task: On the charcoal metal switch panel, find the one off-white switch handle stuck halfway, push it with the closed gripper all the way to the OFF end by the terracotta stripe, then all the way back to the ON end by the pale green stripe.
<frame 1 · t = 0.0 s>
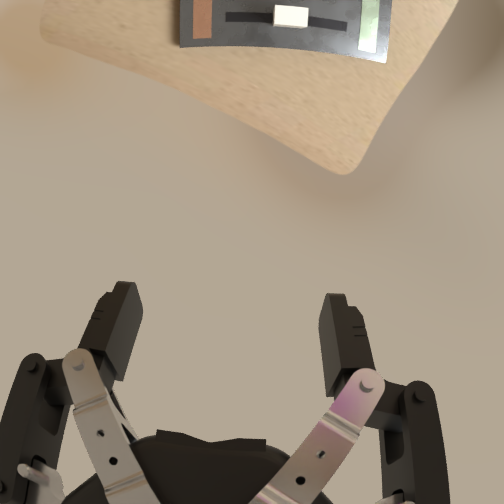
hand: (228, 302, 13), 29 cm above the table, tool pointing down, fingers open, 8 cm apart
switch 1: (289, 17, 24), point 5 cm above the table, slide at 0.0 cm
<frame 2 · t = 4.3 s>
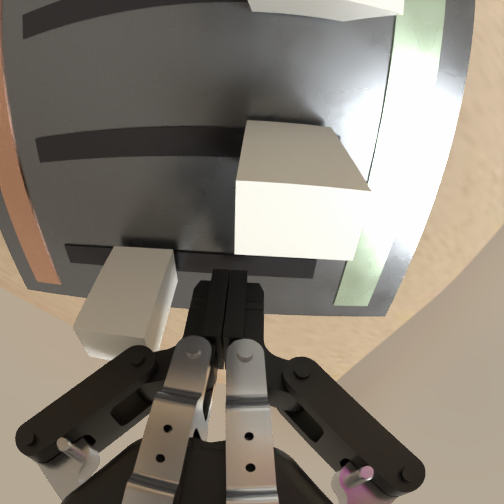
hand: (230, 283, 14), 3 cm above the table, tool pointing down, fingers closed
switch panel: (180, 126, 13), on the table
switch 1: (130, 301, 13), point 5 cm above the table, slide at -1.7 cm, touching gripper
switch middle: (292, 177, 9), point 5 cm above the table, slide at 4.5 cm
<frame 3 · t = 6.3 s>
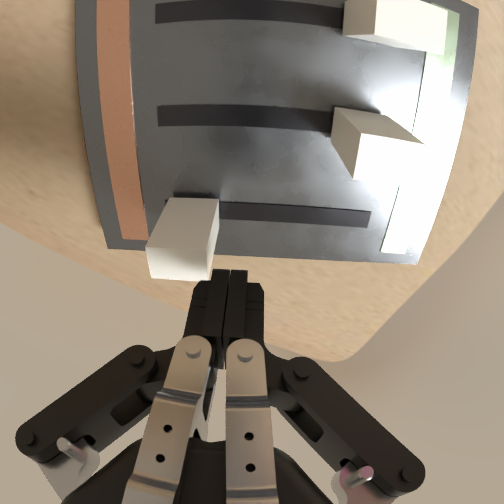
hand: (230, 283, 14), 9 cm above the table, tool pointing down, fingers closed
switch panel: (275, 109, 18), on the table
switch 1: (186, 235, 17), point 5 cm above the table, slide at -4.6 cm
switch middle: (372, 142, 14), point 5 cm above the table, slide at 4.5 cm
switch 2: (389, 22, 10), point 5 cm above the table, slide at 4.5 cm
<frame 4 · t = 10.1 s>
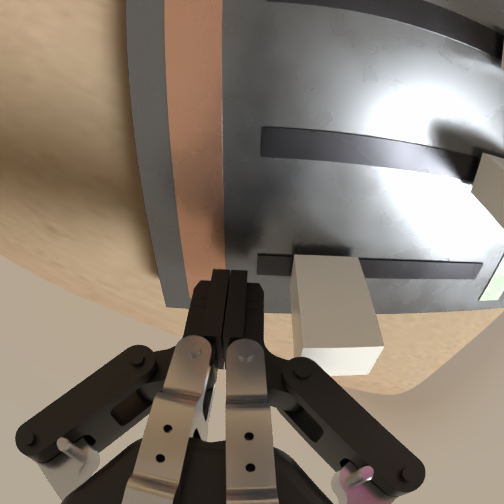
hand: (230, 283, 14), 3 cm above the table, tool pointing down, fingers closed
switch panel: (402, 141, 13), on the table
switch 1: (330, 312, 13), point 5 cm above the table, slide at -3.4 cm, touching gripper
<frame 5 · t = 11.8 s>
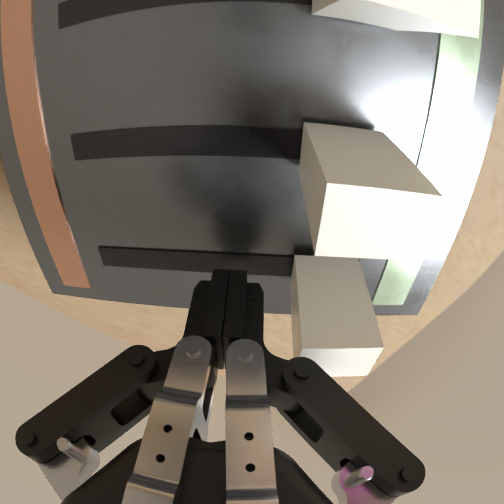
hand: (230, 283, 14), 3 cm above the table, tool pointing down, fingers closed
switch panel: (226, 126, 13), on the table
switch 1: (330, 313, 13), point 5 cm above the table, slide at 4.7 cm, touching gripper
switch middle: (357, 180, 9), point 5 cm above the table, slide at 4.5 cm
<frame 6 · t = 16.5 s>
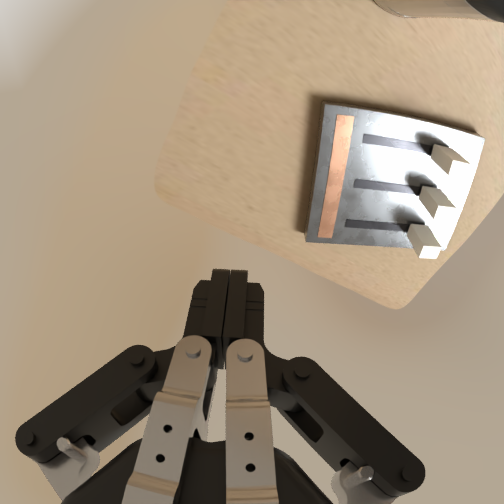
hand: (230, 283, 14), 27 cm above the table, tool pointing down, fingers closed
switch panel: (395, 181, 39), on the table
switch 1: (423, 240, 39), point 5 cm above the table, slide at 4.6 cm
switch middle: (437, 203, 35), point 5 cm above the table, slide at 4.5 cm
switch 2: (450, 161, 31), point 5 cm above the table, slide at 4.5 cm
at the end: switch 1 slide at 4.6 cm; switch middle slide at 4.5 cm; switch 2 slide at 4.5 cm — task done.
